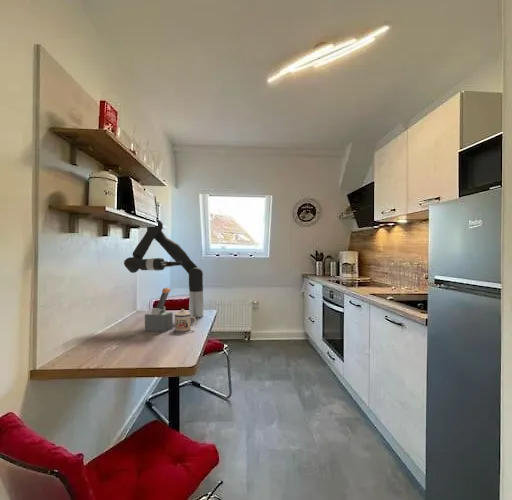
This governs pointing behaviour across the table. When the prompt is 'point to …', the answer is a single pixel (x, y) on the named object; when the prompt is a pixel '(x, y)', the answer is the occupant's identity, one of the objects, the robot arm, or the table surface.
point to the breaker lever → (163, 298)
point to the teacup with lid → (183, 321)
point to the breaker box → (158, 320)
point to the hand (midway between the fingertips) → (181, 263)
